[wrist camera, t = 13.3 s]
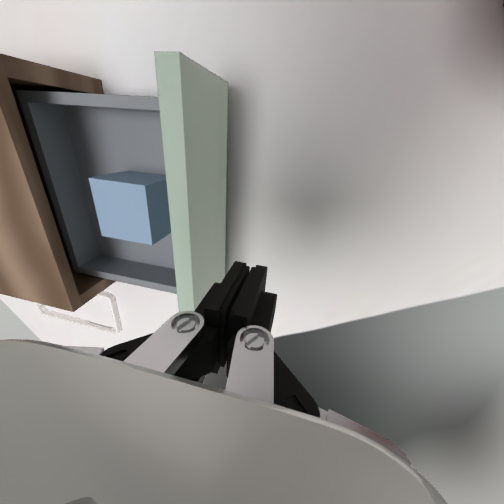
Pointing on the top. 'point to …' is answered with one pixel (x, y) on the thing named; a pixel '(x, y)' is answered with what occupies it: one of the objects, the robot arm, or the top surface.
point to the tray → (147, 161)
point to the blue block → (132, 206)
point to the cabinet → (35, 197)
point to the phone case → (114, 311)
